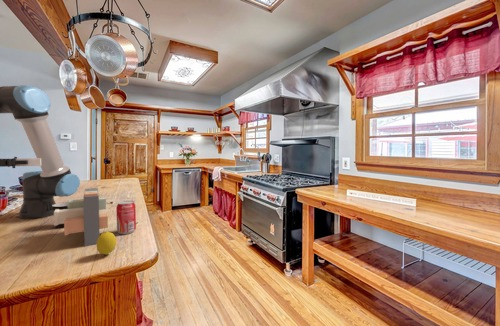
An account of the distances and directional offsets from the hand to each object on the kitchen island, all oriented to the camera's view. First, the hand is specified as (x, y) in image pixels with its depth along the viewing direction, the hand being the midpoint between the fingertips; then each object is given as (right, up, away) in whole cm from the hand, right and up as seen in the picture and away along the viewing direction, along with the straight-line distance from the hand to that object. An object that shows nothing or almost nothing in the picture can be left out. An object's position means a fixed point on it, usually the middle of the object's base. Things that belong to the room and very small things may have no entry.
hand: (40, 162), depth 85 cm
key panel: (+15, -30, +6) cm, 34 cm away
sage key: (+10, -21, +11) cm, 25 cm away
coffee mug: (-5, -29, +19) cm, 35 cm away
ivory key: (+11, -23, +3) cm, 26 cm away
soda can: (+26, -30, +12) cm, 41 cm away
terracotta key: (+18, -25, 0) cm, 31 cm away
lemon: (+31, -31, -9) cm, 45 cm away
